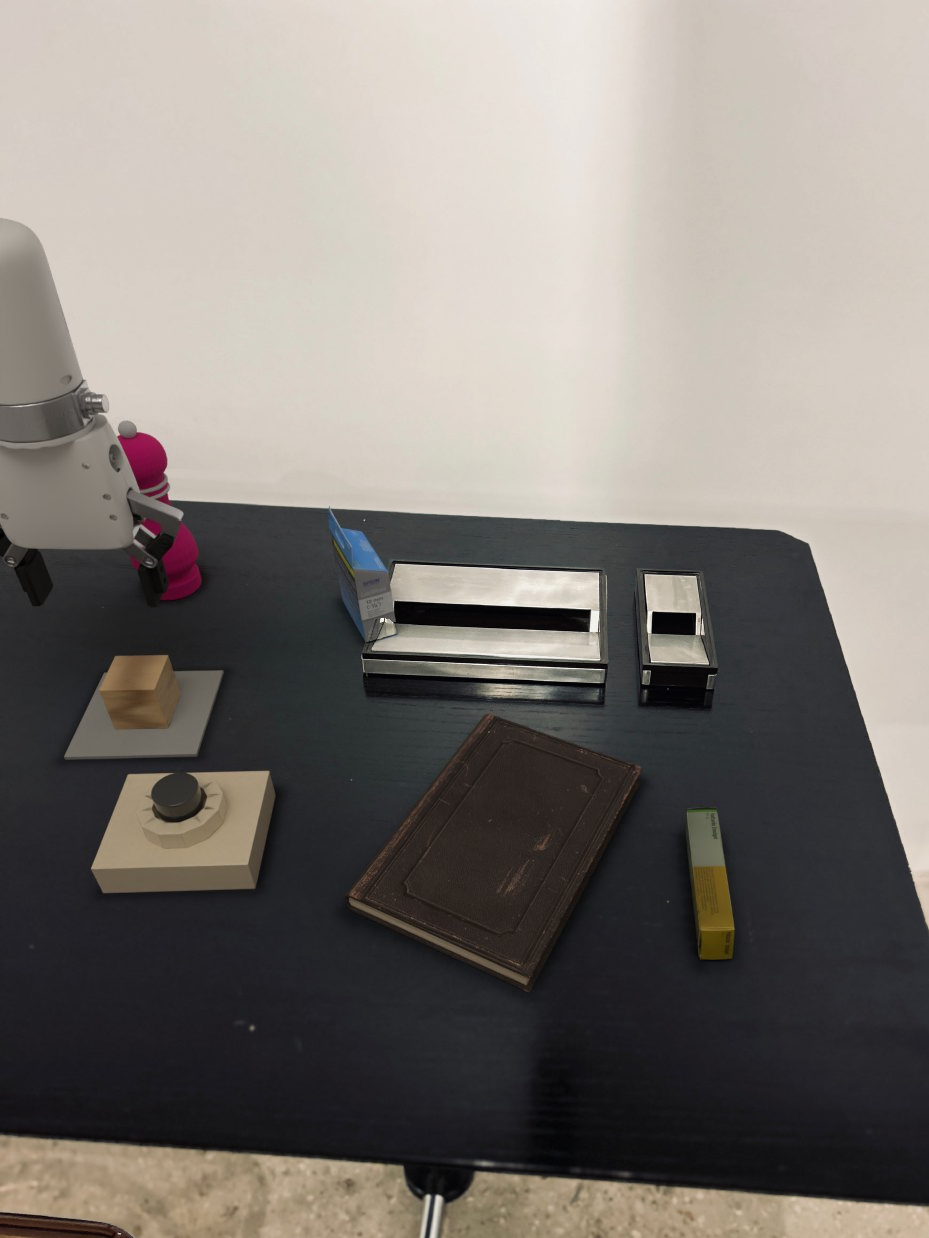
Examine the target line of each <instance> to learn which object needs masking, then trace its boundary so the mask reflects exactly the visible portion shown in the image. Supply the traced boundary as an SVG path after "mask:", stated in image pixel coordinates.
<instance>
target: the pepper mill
mask: <svg viewBox="0 0 929 1238" xmlns="http://www.w3.org/2000/svg"><path fill="white" fill-rule="evenodd" d="M117 431H118V434H119V435H116V436H117V438H118V440H119V442H120V444H121V446H122V448H123V450H124V452H125V455H126V457H127V459H128V462H129V464H130V466H131V469H132V471H133V474H134V477H135V479H136V482H137V485H138V487H139V490H140V493H141V494H143V495H145V496H148V497H150V498H153V499H155V500H158V501H160V502H162V503H165V504H167V505H170V506H172V503H171V501H170V499H169V492H170V489H171V484H170V483H169V482H168V480H169V478H168V475H167V474H166V473H165V472H166V469H167V468H168V456H167V452H166V450H165V448H164V446H163V444H162V443H161V442H160V440H158V438H156V437H154V436H153V435H151V434H149V433H145V432H141V431H138V428H137V426H136V424H135V423H134V422H132V421H130V420H122V421H121V422H119V424H118V426H117ZM140 524H142V525H143V526H144V527H145V528H147V529H148V530H149V531H150V532H152V533H153V534H154V535H155V536H157V535H158V534H159V533H160V532H161V528H162V527H161V525H160V524H159V523H157V522H155V521H152V520H150V519H147V518H146V519H145V522H142V523H140ZM134 539H135V538H134ZM135 540H136V539H135ZM136 541H137V540H136ZM138 542H139V541H138ZM139 543H140V542H139ZM140 544H141V543H140ZM143 546H144V545H143ZM144 547H145V546H144ZM198 547H199V546H198V545H197V542H196V539H195V537H194V536H193V534H192V533H191V531H190V530H189V528H188V527H187V526H186V525H185V524H184V522H182V523H181V526H180V529H179V531H178V534H177V537H176V539H175V541H174V544H173V546H172V547H171V549H170V550H169V551H168V552H167V553H166V554H165V555H164V556H163V557H162V559H163V563H164V566H165V570H166V574H167V577H168V581H169V587H168V590H167V592H166V593H163V595H162V597H161V600H160V601H176V600H180V599H184V598H186V597H188V596H191V595H192V594H194V593H195V592H196V591H197V590H198V589H199V588H200V586H202V575H201V572H200V568H199V566H198V565H197V564H196V562H197V560H198V558H199V548H198ZM129 558H130V562H131V565H132V566H133V568H134V569H135V571H137V572H138V568H139V565H140V562H138V561H137V560H136V559H134V558H133V557H132V556H131V555H129Z"/></svg>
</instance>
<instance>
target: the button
mask: <svg viewBox="0 0 929 1238" xmlns="http://www.w3.org/2000/svg"><path fill="white" fill-rule="evenodd" d="M172 773H173V774H170V775H167V776H165V777H163V778H161V779H160V780H159V781H158V782H157V783H156V784H155V785H154V786H153V788H152V791H151V798H152V800H153V803H154V805H155V808H156V810H157V813H158V815H159V817H160V818H161V819H163V820H164V821H167V822H171V823H179V822H182V821H185V820H187V819H190V818H192V817H194V816H196V815H197V814H198V813H199V812H200V810H201V809H202V807H203V804H204V798H203V795H202V792H201V789H200V786H199V784H198V781H197V779H196V778H195V777H194V776H193V775H191V774H188V773H189V772H172Z"/></svg>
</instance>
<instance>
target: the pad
mask: <svg viewBox="0 0 929 1238" xmlns="http://www.w3.org/2000/svg"><path fill="white" fill-rule="evenodd" d="M173 671H174V674H175V678H176V681H177V684H178V687H179V690H180V693H181V694H180V697H179V700H178V703H177V705H176V708H175V711H174V714H173V716H172V719H171V722H170V724H169V727H168V728H161V729H115V728H114V726H113V723H112V721H111V718H110V716H109V714H108V711H107V709H106V706H105V704H104V701H103V699H102V696H101V694H100V692H99V689H100V687H101V685H102V683H103V681H104V679H105V677H106V675H107V673H108V672H103V674H102V677H100V680H99V683H98V685H97V686H96V689H95V691H94V693H93V695H92V697H91V699H90V701H89V703H88V705H87V708H86V710H85V712H84V714H83V716H82V718H81V720H80V722H79V724H78V726H77V728H76V730H75V732H74V735H73V737H72V739H71V741H70V743H69V745H68V747H67V749H66V752H65V754H64V756H63V759H64V760H65V761H68V760H69V761H71V760H73V761H75V760H114V759H115V760H116V759H117V760H119V759H154V758H155V759H156V758H159V759H161V758H197V757H198V756H199V752H200V749H201V746H202V743H203V740H204V737H205V733H206V732H207V731H206V730H207V728H208V724H209V721H210V718H211V715H212V712H213V708H214V705H215V702H216V699H217V696H218V694H219V689H220V686H221V683H222V681H223V678H224V674H225V671H224V670H222V669H219V670H215V669H214V670H173Z"/></svg>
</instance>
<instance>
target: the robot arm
mask: <svg viewBox="0 0 929 1238" xmlns="http://www.w3.org/2000/svg"><path fill="white" fill-rule="evenodd" d="M59 297H60V296H59V294H58V290H57V287H56V283H55V280H54V277H53V274H52V270H51V267H50V263H49V260H48V257H47V254H46V252H45V249H44V245H43V244H42V242H41V240H40V238H39V237H38V236H37V234H36V233H35V232H34V230H32V228H30V227H29V226H28V225H25V224H24V223H22V222H20V221H18V220H13V219H10V218H9V219H8V218H3V217H0V526H1V527H0V557H1V558H2V562H3V564H4V565H6V566H7V567H9V568H13V570H14V572H15V574H16V577H17V579H18V582H19V585H20V586H21V589H22V591H23V592H24V593H26V595H27V598H28V599H29V602H30V604H31V606H32V607H41V606H43V605H44V603H45V602H46V600H47V599H48V597H49V595H50V594H51V592H52V590H53V588H54V584H53V580H52V577H51V575H50V573H49V570H48V567H47V565H46V563H45V560H44V557H43V555H42V552H41V550H89V551H90V550H93V551H94V550H96V551H98V550H100V551H101V550H105V551H106V550H107V551H108V550H120V549H121V550H123V551H124V552H125V553H127V554H128V555H129V556H130V555H131V556H132V557H133V558H134V559H136V560H137V561H138V562H140V565H139V568H138V571H137V574H138V578H139V581H140V585H141V587H142V591H143V594H144V597H145V601H146V604H147V606H149V607H150V608H157V607H158V606H159V604H160V602H161V601H162V600H161V597H162V595H163V593H166V592H167V590H168V587H169V581H168V577H167V574H166V570H165V566H164V563H163V559H162V557H163V556H164V555H165V554H166V553H167V552H168V551H169V550H170V549H171V547H172V546H173V544H174V541H175V539H176V537H177V534H178V531H179V529H180V526H181V523H183V520H184V517H185V514H184V511H182V509H179V508H177V507H174V506H173V505H171V506H170V505H167V504H165V503H162V502H160V501H158V500H155V499H153V498H150V497H148V496H145V495H143V494H141V493H140V490H139V487H138V485H137V482H136V479H135V477H134V474H133V471H132V469H131V466H130V464H129V462H128V459H127V457H126V455H125V452H124V450H123V448H122V446H121V444H120V442H119V440H118V438H117V436H118V435H117V434H116V432H115V430H114V429H113V427H112V425H111V423H110V422H109V420H108V418H107V416H105V415H104V414H108V413H109V410H110V401H109V398H108V396H107V395H106V394H103V393H101V394H100V393H96V392H94V391H92V390H91V389H90V388H89V387H90V386H89V383H88V381H87V379H84V377H83V373H82V371H81V366H80V364H79V361H78V357H77V354H76V351H75V350H76V349H75V348H74V343H73V340H72V337H71V334H70V330H69V327H68V323H67V320H66V317H65V314H64V311H63V308H62V303H61V300H60V298H59ZM146 518H147V519H150V520H152V521H155V522H157V523H159V524H160V525H161V527H162V528H161V532H160V533H159V534H158V535H157V536H155V535H154V534H153V533H152V532H150V531H149V530H148V529H147V528H145V527H144V526H143V525H142V524H140V523H142V522H145V519H146ZM134 538H135V539H136V540H137V541H136V540H135V539H134ZM138 541H139V542H140V543H141V544H140V543H139V542H138ZM143 545H144V546H145V547H144V546H143ZM39 550H40V551H39Z"/></svg>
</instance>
